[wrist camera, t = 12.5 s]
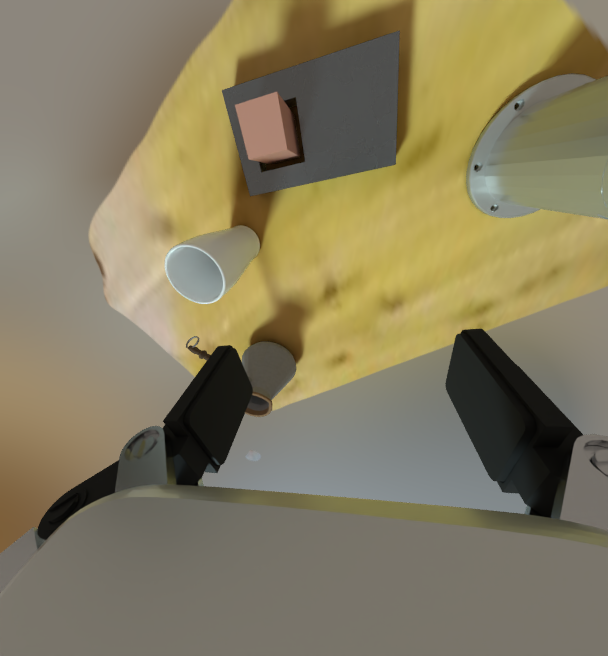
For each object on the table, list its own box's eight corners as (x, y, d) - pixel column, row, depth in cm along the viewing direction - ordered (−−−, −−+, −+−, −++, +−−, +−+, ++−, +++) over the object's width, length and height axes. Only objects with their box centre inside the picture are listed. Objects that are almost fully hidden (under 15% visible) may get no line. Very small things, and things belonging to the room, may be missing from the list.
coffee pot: (307, 368, 49) (295, 432, 37) (263, 379, 53) (240, 440, 41) (257, 284, 40) (219, 332, 27) (208, 305, 44) (156, 355, 31)
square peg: (294, 115, 27) (276, 91, 19) (300, 156, 29) (287, 149, 21) (263, 124, 28) (234, 104, 20) (271, 164, 30) (248, 159, 22)
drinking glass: (234, 209, 33) (172, 228, 21) (273, 237, 35) (236, 270, 22) (218, 247, 37) (156, 282, 25) (253, 271, 38) (212, 315, 26)
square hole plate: (393, 46, 23) (399, 30, 20) (390, 165, 28) (395, 164, 26) (232, 98, 27) (221, 90, 24) (257, 194, 32) (250, 196, 29)
